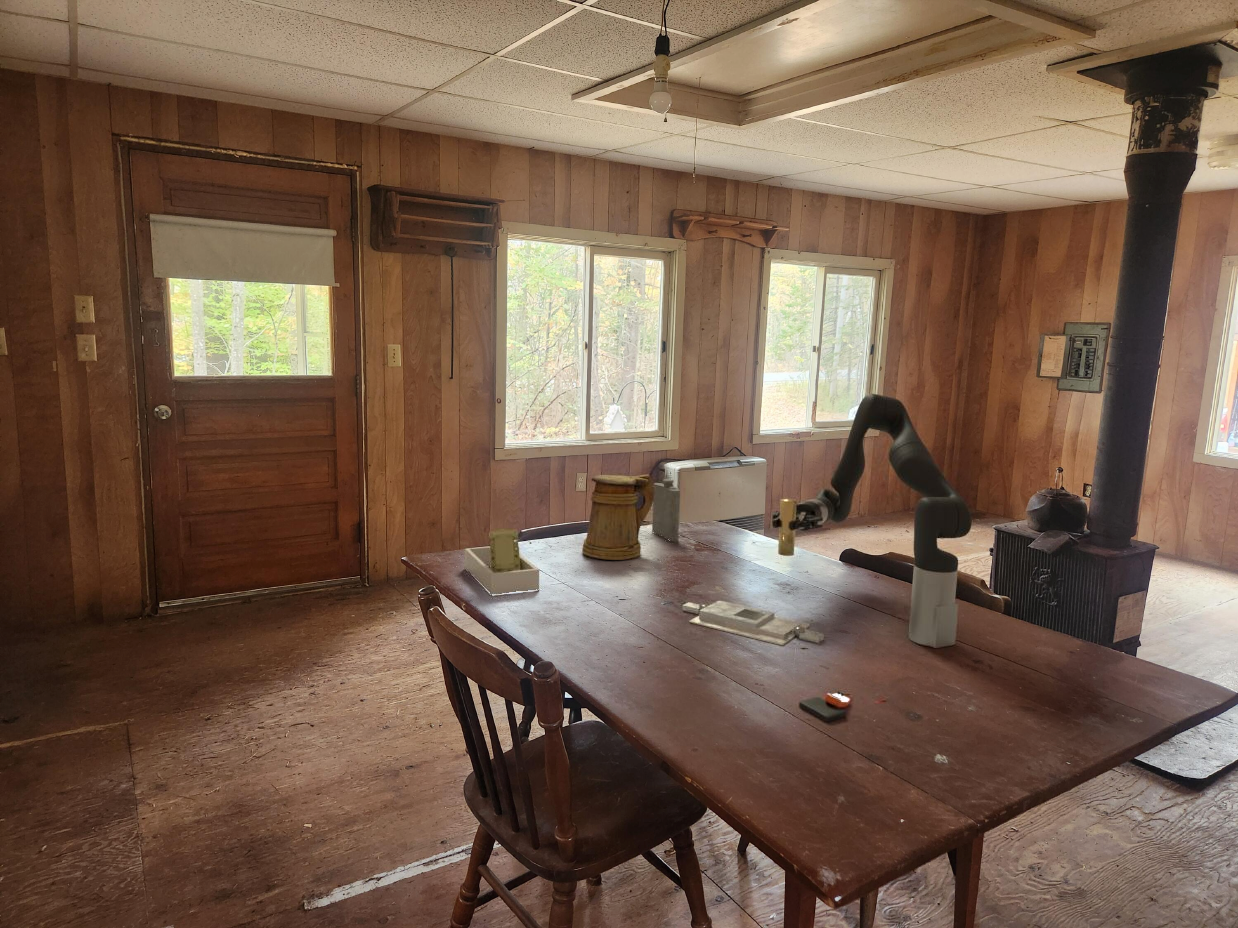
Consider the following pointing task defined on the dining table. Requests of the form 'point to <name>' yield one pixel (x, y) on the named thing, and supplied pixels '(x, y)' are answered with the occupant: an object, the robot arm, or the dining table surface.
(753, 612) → the peg-in-hole plate
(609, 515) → the tankard
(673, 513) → the hip flask
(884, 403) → the robot arm
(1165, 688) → the dining table surface
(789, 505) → the pin
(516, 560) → the mechanical component
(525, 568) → the parts tray
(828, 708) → the multimeter
